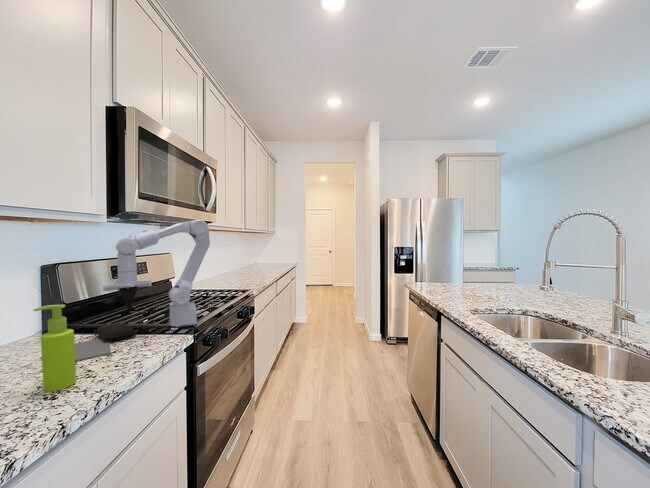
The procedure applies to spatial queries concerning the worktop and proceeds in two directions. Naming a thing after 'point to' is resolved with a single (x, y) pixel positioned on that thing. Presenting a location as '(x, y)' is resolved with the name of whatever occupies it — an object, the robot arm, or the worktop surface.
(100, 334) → the black upright slab
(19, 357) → the worktop surface
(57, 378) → the soap dispenser
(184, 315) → the robot arm
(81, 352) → the mat
